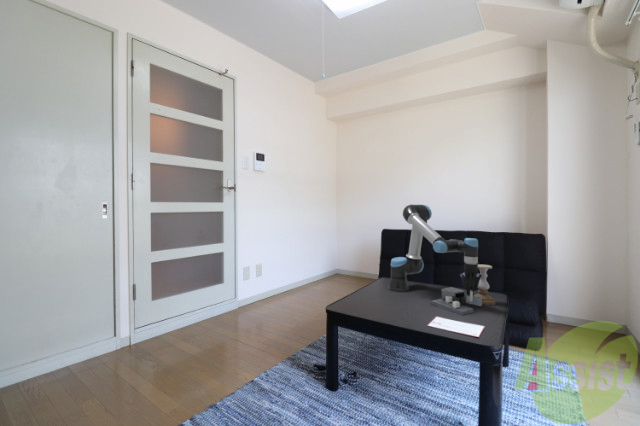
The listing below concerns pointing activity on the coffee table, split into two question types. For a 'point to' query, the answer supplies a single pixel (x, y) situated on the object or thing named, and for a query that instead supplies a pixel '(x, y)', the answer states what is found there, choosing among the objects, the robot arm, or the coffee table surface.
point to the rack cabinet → (453, 294)
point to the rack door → (474, 300)
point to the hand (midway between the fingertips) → (470, 300)
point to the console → (449, 306)
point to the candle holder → (484, 286)
